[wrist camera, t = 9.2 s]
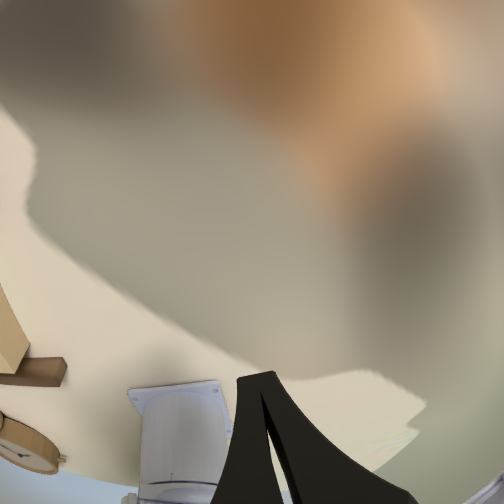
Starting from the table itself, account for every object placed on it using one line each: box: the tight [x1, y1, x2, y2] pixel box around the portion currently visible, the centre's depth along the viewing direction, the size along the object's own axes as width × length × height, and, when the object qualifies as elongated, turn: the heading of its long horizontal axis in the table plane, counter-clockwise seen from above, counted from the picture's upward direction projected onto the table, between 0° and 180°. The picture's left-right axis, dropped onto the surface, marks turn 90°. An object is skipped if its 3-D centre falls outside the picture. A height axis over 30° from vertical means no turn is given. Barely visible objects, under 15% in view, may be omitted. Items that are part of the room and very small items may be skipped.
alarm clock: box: [0, 412, 66, 475], centre depth 22 cm, size 11×5×15 cm
